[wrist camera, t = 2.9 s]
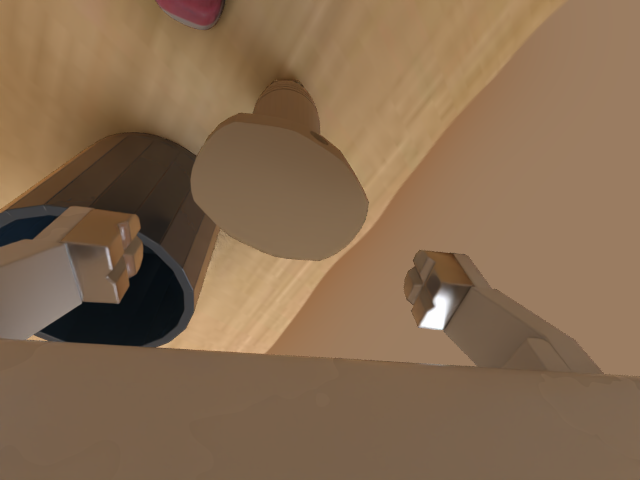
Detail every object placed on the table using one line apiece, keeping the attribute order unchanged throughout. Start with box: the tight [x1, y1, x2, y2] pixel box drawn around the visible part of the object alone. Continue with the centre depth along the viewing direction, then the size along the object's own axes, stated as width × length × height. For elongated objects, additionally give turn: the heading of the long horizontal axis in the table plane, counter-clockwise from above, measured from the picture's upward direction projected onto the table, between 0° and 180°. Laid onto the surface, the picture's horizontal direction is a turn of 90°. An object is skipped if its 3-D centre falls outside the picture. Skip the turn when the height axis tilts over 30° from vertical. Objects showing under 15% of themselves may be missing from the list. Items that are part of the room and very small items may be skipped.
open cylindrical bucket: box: [0, 132, 220, 348], centre depth 23 cm, size 12×12×11 cm
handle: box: [190, 80, 369, 261], centre depth 18 cm, size 5×6×15 cm
